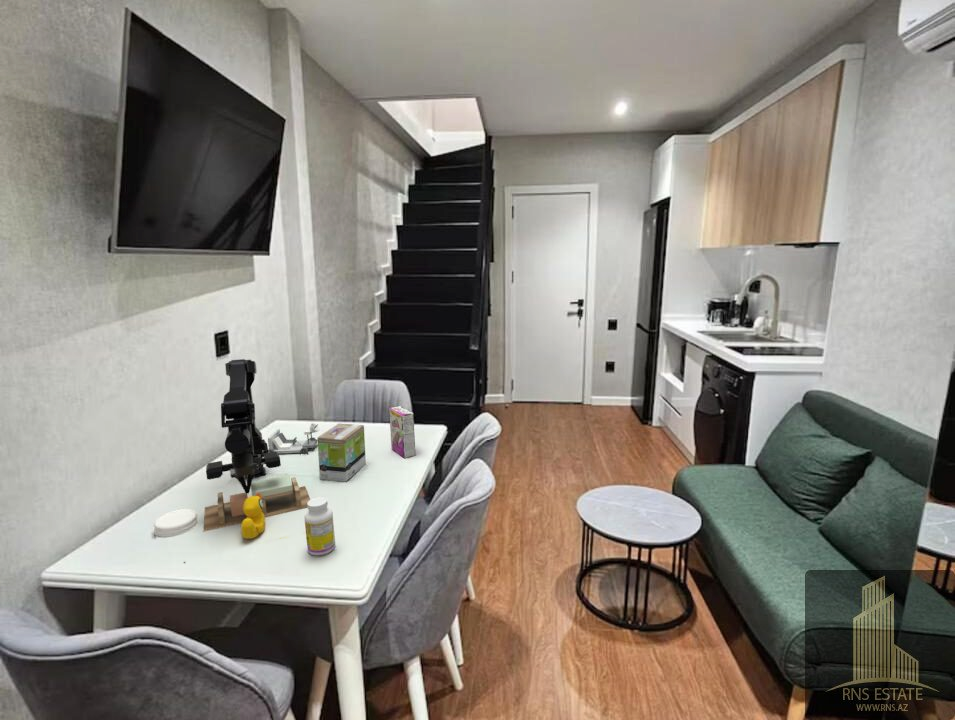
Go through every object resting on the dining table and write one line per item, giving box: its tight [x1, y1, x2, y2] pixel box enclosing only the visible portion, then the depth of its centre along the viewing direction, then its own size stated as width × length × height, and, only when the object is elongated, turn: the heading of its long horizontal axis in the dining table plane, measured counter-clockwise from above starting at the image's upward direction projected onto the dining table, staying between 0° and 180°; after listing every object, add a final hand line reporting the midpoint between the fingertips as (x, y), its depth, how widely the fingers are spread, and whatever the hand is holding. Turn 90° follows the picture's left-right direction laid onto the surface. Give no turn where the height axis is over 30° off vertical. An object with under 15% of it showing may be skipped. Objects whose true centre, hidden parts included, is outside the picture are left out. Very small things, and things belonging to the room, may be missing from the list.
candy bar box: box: [388, 405, 417, 459], centre depth 183 cm, size 11×5×16 cm, turn 34°
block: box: [229, 492, 249, 517], centre depth 142 cm, size 4×4×4 cm
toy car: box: [267, 423, 320, 455], centre depth 189 cm, size 18×10×12 cm
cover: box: [250, 474, 293, 497], centre depth 145 cm, size 8×11×2 cm
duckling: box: [240, 493, 266, 540], centre depth 131 cm, size 11×5×10 cm, turn 6°
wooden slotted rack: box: [203, 477, 311, 533], centre depth 144 cm, size 15×28×6 cm, turn 117°
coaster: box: [153, 508, 199, 538], centre depth 135 cm, size 10×10×4 cm
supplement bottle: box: [304, 496, 336, 556], centre depth 123 cm, size 7×7×13 cm
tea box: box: [316, 423, 367, 482], centre depth 168 cm, size 15×10×15 cm, turn 168°
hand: (247, 492), depth 142 cm, fingers closed
